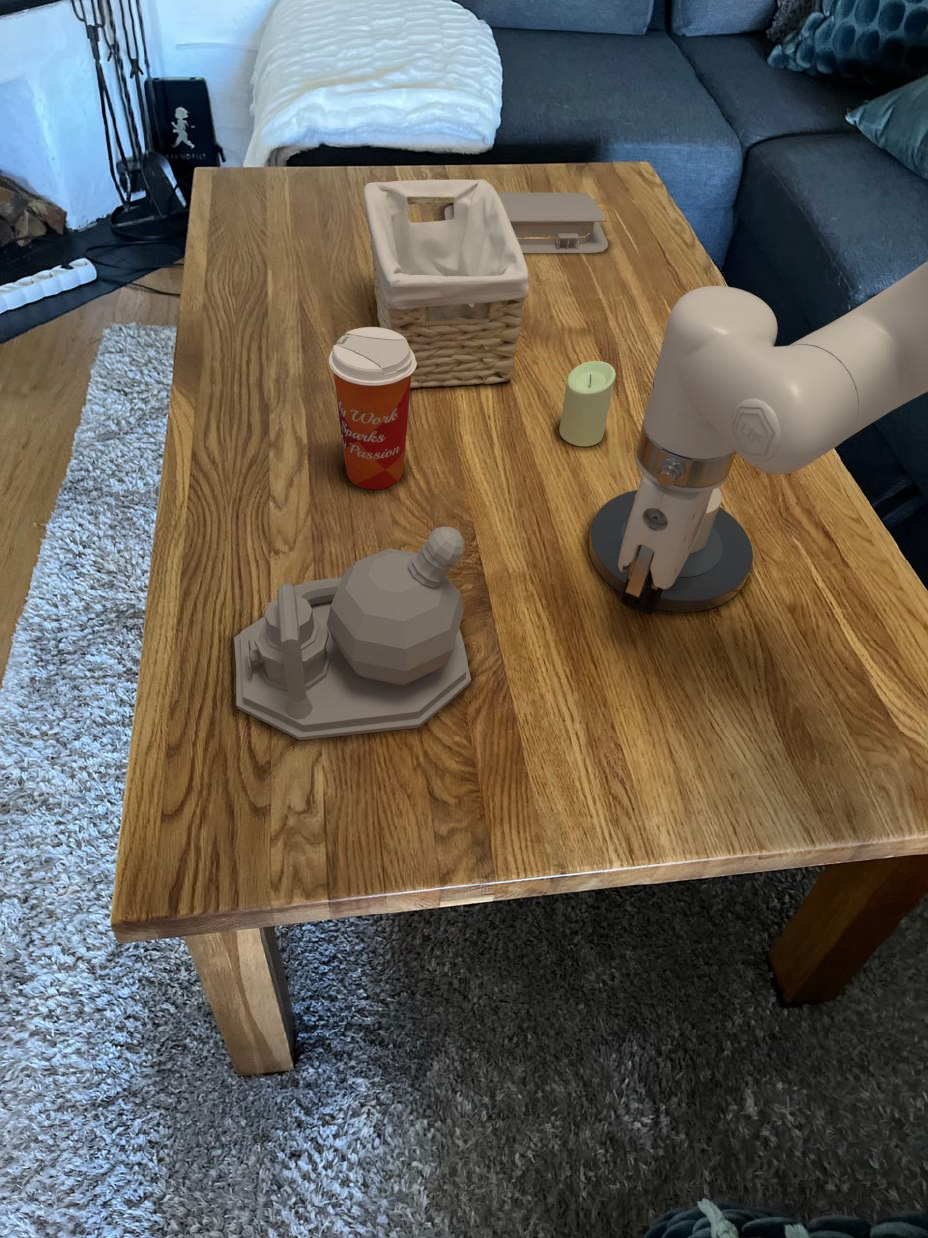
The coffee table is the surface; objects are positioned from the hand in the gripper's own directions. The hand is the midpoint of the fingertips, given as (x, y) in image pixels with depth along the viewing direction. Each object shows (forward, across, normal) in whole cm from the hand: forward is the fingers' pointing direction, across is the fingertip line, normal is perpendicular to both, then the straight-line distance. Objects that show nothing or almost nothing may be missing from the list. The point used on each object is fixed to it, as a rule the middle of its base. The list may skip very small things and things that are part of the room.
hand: (639, 604), depth 87 cm
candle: (+2, +22, +15) cm, 27 cm away
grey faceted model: (+1, -18, +20) cm, 27 cm away
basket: (+2, +31, +38) cm, 49 cm away
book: (+2, +64, +41) cm, 76 cm away
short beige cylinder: (0, +11, 0) cm, 11 cm away
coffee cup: (+2, +5, +31) cm, 32 cm away
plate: (+1, +9, 0) cm, 9 cm away
